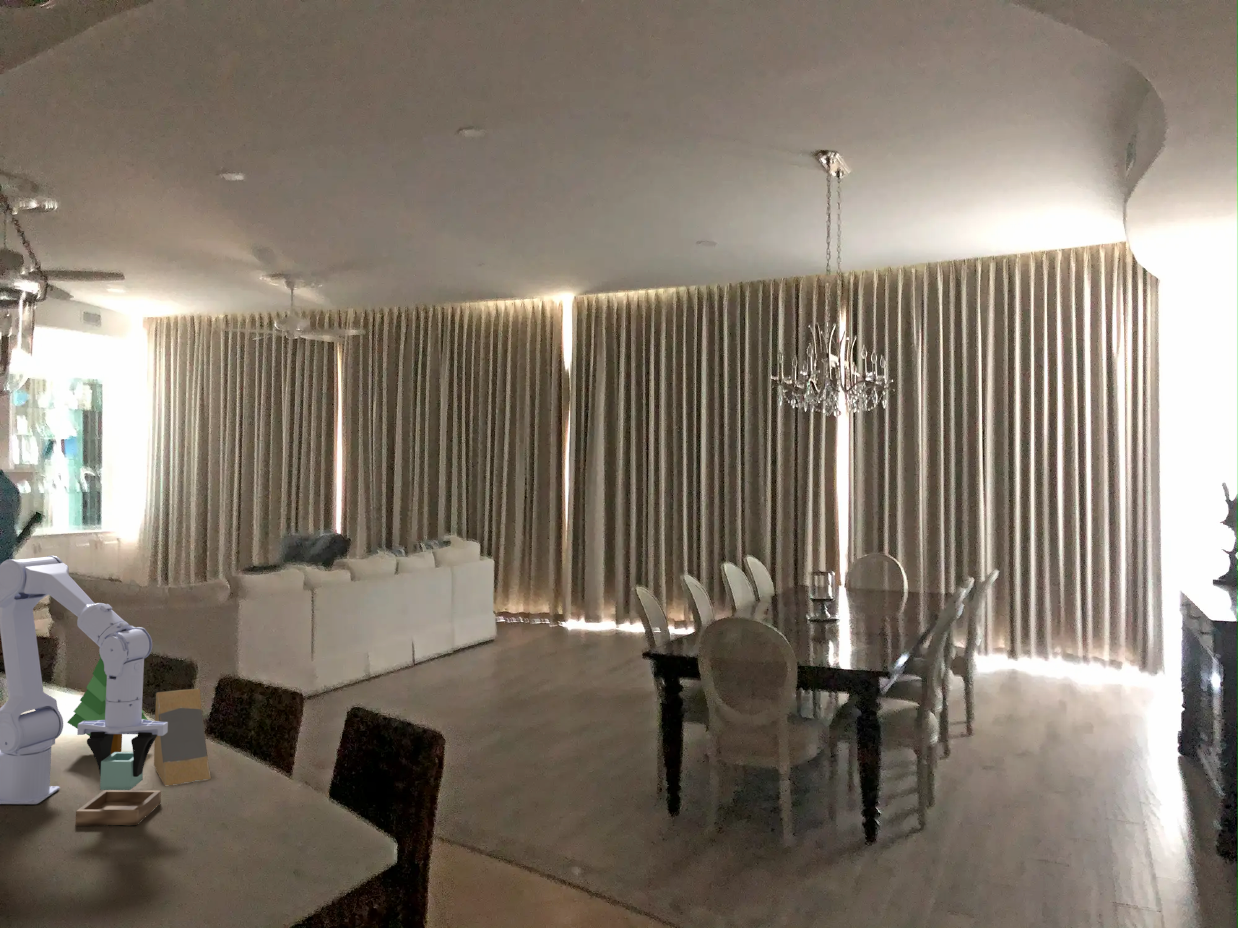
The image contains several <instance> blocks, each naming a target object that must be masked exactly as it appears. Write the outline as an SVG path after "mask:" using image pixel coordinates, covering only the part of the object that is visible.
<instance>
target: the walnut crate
mask: <svg viewBox="0 0 1238 928" xmlns="http://www.w3.org/2000/svg"><path fill="white" fill-rule="evenodd" d="M161 801H162V790H151V789H150V790H143V789H142V790H139V789H137V790H134V789H131V790H101V792H100V793H98V794H97V795H96V796H94V797H93V798H91V799H90V800H89V801H88V802H86V803H85V804H84V805H82V806H81V807H80V808H78V809H76V811H75V827H80V826H82V827H87V826H88V827H109V826H108V825H137V824H138V823H139V822H140V821H141V820H142V819H143V820H144V818H145V816H147V815H148V814H149V813H150V812H151V811H152V810H153V809H154V808H156V806H158V805H159V804H160V803H161ZM160 805H161V804H160ZM160 805H159V806H160ZM159 806H158V807H159ZM156 809H157V808H156ZM153 811H154V810H153ZM153 811H152V812H153ZM152 812H151V813H152ZM151 813H150V814H151ZM150 814H149V815H150ZM149 815H148V816H149ZM148 816H147V817H148ZM145 819H146V818H145ZM143 820H142V821H143ZM142 821H141V822H142ZM141 822H140V823H141ZM140 823H139V824H140ZM139 824H138V825H139ZM104 825H106V826H104ZM138 825H137V826H138Z"/></svg>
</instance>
